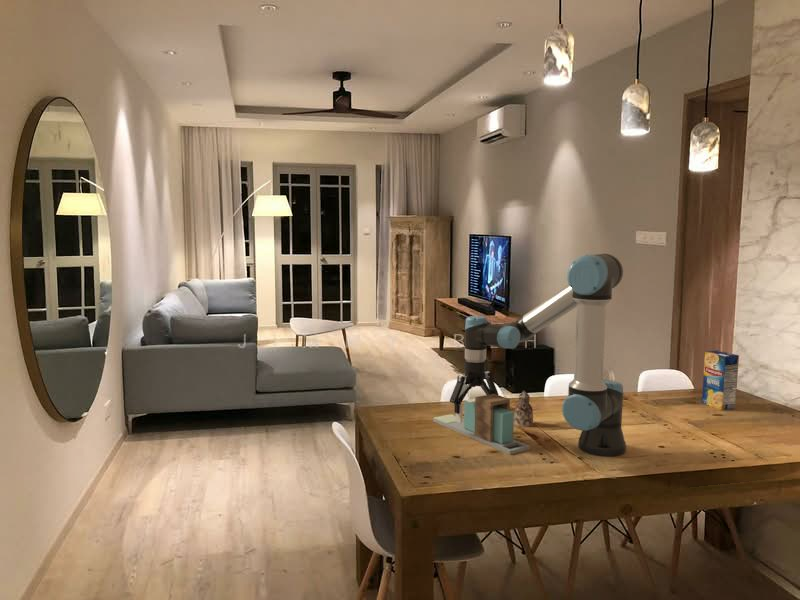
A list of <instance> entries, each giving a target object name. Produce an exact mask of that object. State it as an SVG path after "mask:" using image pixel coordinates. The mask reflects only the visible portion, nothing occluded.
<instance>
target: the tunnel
mask: <svg viewBox="0 0 800 600" xmlns="http://www.w3.org/2000/svg"><path fill="white" fill-rule="evenodd" d="M510 401H511V399H510V398H508V397H506V396H502V395H499V394H498V395H496V394H490V395H484V396H479V397H475V436H477V437H479V438H481V439H484V440H486V441H488V442H493V406H494V405H495V406H498V407H501V408H504V409H507V410H509V411H510Z"/></svg>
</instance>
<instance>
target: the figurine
mask: <svg viewBox="0 0 800 600" xmlns="http://www.w3.org/2000/svg"><path fill="white" fill-rule="evenodd" d="M530 398H531V397H530V395H529V393H527V392H526V390H522V392H521V393H519V396H518V403H517V404H516V405H515V408H514V426H515V425H516V426H518V427H523V428H525V427H532V426H533V425H534V411H533V406H532V405H531V404H530Z"/></svg>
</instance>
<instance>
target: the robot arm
mask: <svg viewBox="0 0 800 600" xmlns="http://www.w3.org/2000/svg"><path fill="white" fill-rule="evenodd" d="M566 274H567V275H566V277H567V278H566V279H567V285H566V286H565V287H563V288H562V289H560V290H559V291H557V292H556V293H554V294H553V295H552V296H550V297H548V298H546V300H543V302H542V303H540V304H538V305H537V306H536V307H534V308H532V309H531V310H530V311H528V312H527V313H525V314H524V315H522V316H521V317H519V318H518V319H517V320H515V321H512V322H507V323H504V324H495V323H494V324H493V323H489V322H488V318H487V317H486V316H482V315H470V316H467V317H466V318H465V326H464V327H465V328H464V359H465V360H464V367H463V368H464V369H463V370H464V371H465V374H464V375H461V374H460V375H459V374H458V375H457V379H456V383H455V386H454V389H453V391H452V394H451V396H450V398H449V402H450V403H452V404H454V409H453V411H454V413H455V416H456V422H459V423H462V419H463V407H464V404H462V402H463V401H464V399H465V397H466V396H467V395H468V391H469V390H470V389H471V388H475V387H480V389H483V391H484V392H485V393H486V395H490V394H496V395H499V393H498V389H497V386H496V384H495V381H494V379H493V373H492V372H491V371H488V370H487V361H486V360H487V346H488V347H489V346H490V347H496V348H501V349H505V350H506V349H511V350H513V349H516V348H517V346H519V343H524V342H527V341H529V340H530V339H531V340H532V338H533V337H534V336H535V334H537V333H538V332H540V331H541V330H543V329H545V328H546V327H548V326H549V325H551V324H552V323H554V322H555V321H557V320H559V319H560V318H562V317H563V316H566V315H567V314H568V313H569V312H571V311H572V310H574V309H576V321H575V324H576V325H575V345H574V348H575V350H574V369H573V379H572V380H571V381H570V382H569V383H568V396H567V397H566V398H565V399H564V401H563V403H562V407H561V412H562V416H563V418H564V420H565V421H566V422H567V423H568V424H569V426H571V428H573V429H575V430H577V431H581V433H580V435H579V437H578V443H577V444H578V448H579V450H581V451H582V452H585V453H587V452H588V454H590V455H596V456H602V457H617V456H620V455H624V454H625V453H626V450H627V444H626V441H625V437H624V432H623V429H622V422H623V421H622V419H623V403H624V399H623V398H624V386H623V384H622V383H621V382H619V381H615V380H609V379H603V377H604V376H603V374H604V357H605V355H604V353H605V336H606V334H605V332H606V316H607V315H606V312H607V311H606V310H607V304H608V303H610V302H611V301H612V300H613V299H612V296H613V289H615V288H616V287H617V286H619V284H620V283H621V281H622V280H623V277H624V268H623V265H622V263H621V261H620V260H619V259H618V258H617V257H616V256H614V255H613V254H609V253H598V254H596V253H595V254H585V255H583V256H580V257H578V258H576V259H575V260H574V261H573V262H572V263H571V264H570V265H569V267H568V269H567V273H566ZM616 455H617V456H616Z"/></svg>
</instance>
